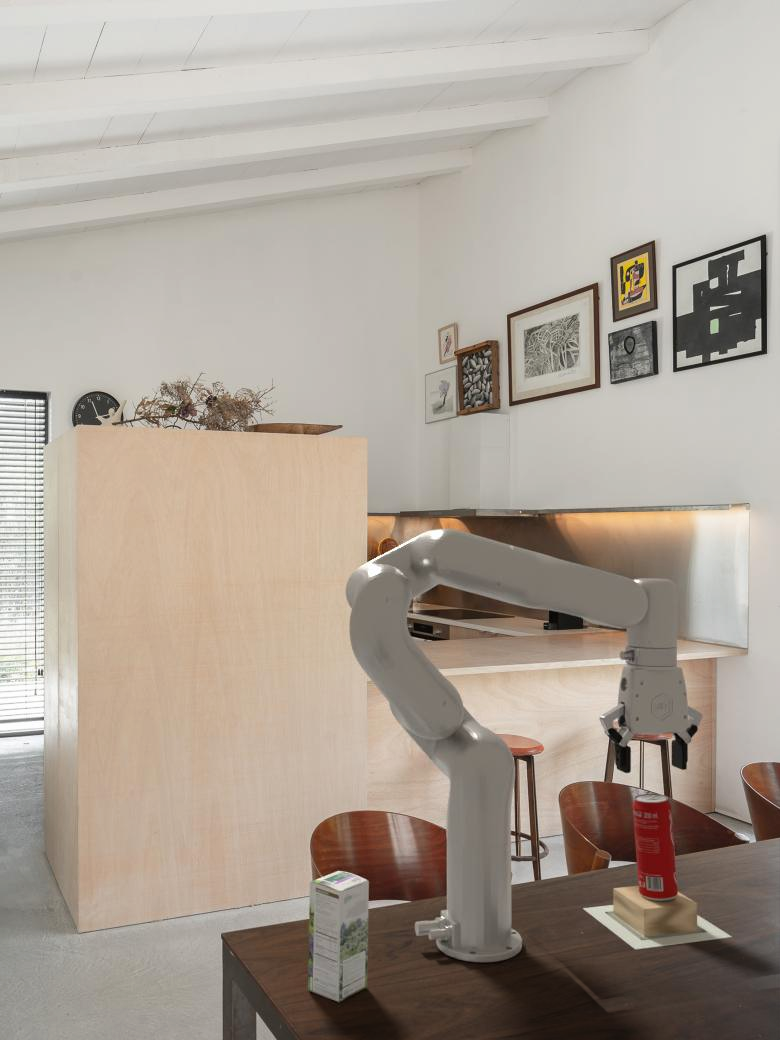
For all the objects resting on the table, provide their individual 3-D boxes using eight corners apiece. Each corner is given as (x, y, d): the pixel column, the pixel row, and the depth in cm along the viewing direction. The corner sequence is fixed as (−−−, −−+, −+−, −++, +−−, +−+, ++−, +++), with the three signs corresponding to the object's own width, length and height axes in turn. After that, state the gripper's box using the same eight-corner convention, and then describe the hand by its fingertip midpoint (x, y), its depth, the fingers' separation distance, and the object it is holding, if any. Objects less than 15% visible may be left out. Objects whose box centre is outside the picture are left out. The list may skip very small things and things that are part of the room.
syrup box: (336, 975, 128) (336, 868, 128) (369, 988, 124) (369, 877, 125) (307, 990, 123) (307, 879, 124) (340, 1004, 120) (340, 889, 120)
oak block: (644, 936, 138) (643, 909, 138) (613, 914, 147) (613, 888, 147) (697, 930, 140) (697, 903, 141) (664, 908, 149) (663, 882, 149)
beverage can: (682, 902, 141) (681, 802, 141) (639, 902, 141) (638, 802, 141) (671, 888, 147) (670, 792, 147) (629, 888, 147) (628, 791, 147)
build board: (635, 957, 134) (635, 948, 134) (582, 915, 149) (582, 907, 149) (732, 945, 138) (731, 936, 138) (671, 905, 153) (671, 897, 153)
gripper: (613, 662, 139) (613, 778, 138) (714, 659, 144) (714, 772, 143) (589, 656, 146) (589, 767, 146) (686, 654, 151) (686, 761, 150)
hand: (651, 769), depth 144 cm, fingers open, 9 cm apart
